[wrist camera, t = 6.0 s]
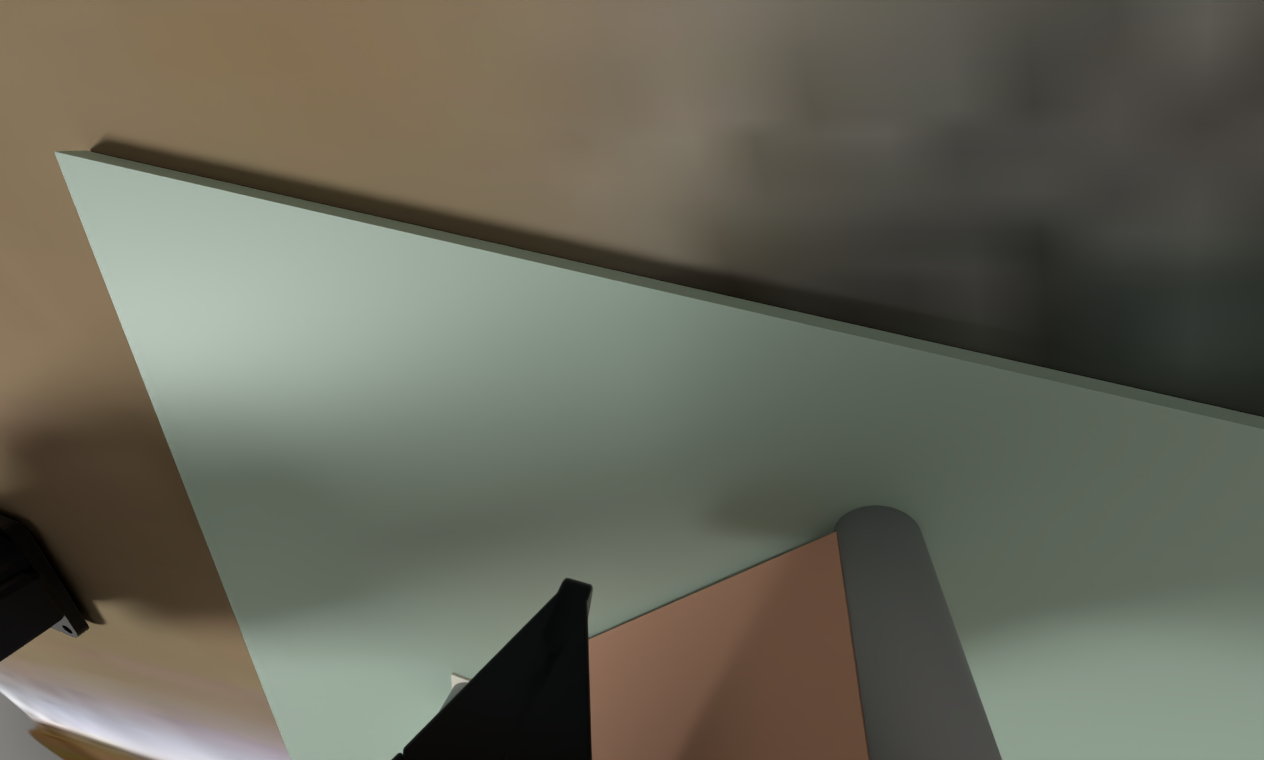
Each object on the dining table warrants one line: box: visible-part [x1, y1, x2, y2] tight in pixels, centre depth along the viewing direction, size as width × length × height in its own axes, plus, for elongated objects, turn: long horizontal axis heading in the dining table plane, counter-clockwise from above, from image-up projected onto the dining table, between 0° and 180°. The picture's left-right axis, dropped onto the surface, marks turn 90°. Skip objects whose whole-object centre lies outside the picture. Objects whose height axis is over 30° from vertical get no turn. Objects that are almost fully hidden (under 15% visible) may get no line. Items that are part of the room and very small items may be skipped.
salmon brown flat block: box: [589, 505, 1002, 760], centre depth 9 cm, size 1×12×5 cm, turn 135°
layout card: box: [54, 151, 1264, 760], centre depth 14 cm, size 24×25×1 cm
